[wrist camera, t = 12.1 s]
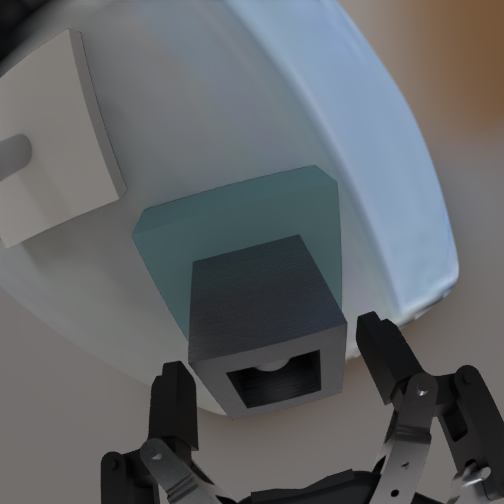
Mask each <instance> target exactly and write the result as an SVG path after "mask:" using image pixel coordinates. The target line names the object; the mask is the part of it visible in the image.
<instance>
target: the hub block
mask: <svg viewBox="0 0 504 504" xmlns="http://www.w3.org/2000/svg"><path fill="white" fill-rule="evenodd" d="M298 234H299V235H300V236H301V238H302V240H303V242H304V243H305V245H306V247H307V249H308V250H309V252H310V254H311V256H312V258H313V259H314V261H315V263H316V265H317V267H318V268H319V270H320V272H321V274H322V276H323V278H324V279H325V281H326V283H327V285H328V287H329V289H330V290H331V292H332V294H333V296H334V298H335V300H336V302H337V304H338V306H339V307H340V309H341V311H342V256H341V230H340V213H339V199H338V187H337V181H335V180H334V179H333V178H331V177H330V176H329V175H328V174H326V173H325V172H324V171H322V170H321V169H320V168H319V167H317V166H316V165H314V166H309V167H305V168H300V169H295V170H290V171H286V172H281V173H277V174H273V175H268V176H264V177H260V178H256V179H252V180H247V181H243V182H240V183H236V184H232V185H228V186H224V187H220V188H217V189H213V190H209V191H206V192H202V193H199V194H195V195H192V196H188V197H185V198H182V199H178V200H175V201H172V202H168V203H165V204H162V205H159V206H156V207H153V208H150V209H146V210H144V211H143V213H142V215H141V217H140V219H139V221H138V223H137V225H136V227H135V229H134V232H133V234H132V238H133V240H134V242H135V244H136V246H137V248H138V250H139V253H140V255H141V257H142V259H143V261H144V263H145V265H146V267H147V269H148V271H149V273H150V274H151V276H152V278H153V280H154V282H155V284H156V286H157V288H158V290H159V292H160V293H161V295H162V297H163V299H164V301H165V302H166V304H167V306H168V308H169V310H170V311H171V313H172V315H173V317H174V318H175V320H176V322H177V324H178V325H179V327H180V329H181V330H182V332H183V334H184V335H185V337H186V339H187V340H188V342H189V318H190V298H191V281H192V266H193V262H194V261H197V260H201V259H205V258H209V257H213V256H217V255H220V254H224V253H228V252H232V251H236V250H240V249H244V248H247V247H251V246H255V245H259V244H263V243H267V242H271V241H275V240H278V239H282V238H286V237H290V236H294V235H298ZM289 360H290V358H287V359H283V360H279V361H276V362H271V363H267V364H263V365H259V366H255V368H257V369H259V370H262V371H275V370H278V369H280V368H282V367H283V366H284V365H286V364H287V362H288V361H289Z"/></svg>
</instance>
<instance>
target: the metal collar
mask: <svg viewBox="0 0 504 504" xmlns="http://www.w3.org/2000/svg"><path fill="white" fill-rule="evenodd" d="M346 340H347V321H346V319H345V317H344V315H343V313H342V311H341V309H340V307H339V306H338V304H337V302H336V300H335V298H334V296H333V294H332V292H331V290H330V289H329V287H328V285H327V283H326V281H325V279H324V278H323V276H322V274H321V272H320V270H319V268H318V267H317V265H316V263H315V261H314V259H313V258H312V256H311V254H310V252H309V250H308V249H307V247H306V245H305V243H304V242H303V240H302V238H301V236H300V235H299V234H298V235H294V236H290V237H286V238H282V239H278V240H275V241H271V242H267V243H263V244H259V245H255V246H251V247H247V248H244V249H240V250H236V251H232V252H228V253H224V254H220V255H217V256H213V257H209V258H205V259H201V260H197V261H194V262H193V266H192V281H191V298H190V318H189V348H188V363H189V365H190V366H191V367H192V369H193V370H194V372H195V373H196V374H197V376H198V377H199V379H200V380H201V381H202V383H203V384H204V385H205V387H206V388H207V389H208V391H209V392H210V393H211V394H212V396H213V397H214V398H215V400H216V401H217V402H218V403H219V405H220V406H221V407H222V408H223V410H224V411H225V412H226V413H227V415H228V416H229V417H230V418H231V419H232V420H233V419H239V418H245V417H250V416H255V415H260V414H265V413H270V412H274V411H278V410H282V409H286V408H291V407H295V406H298V405H302V404H305V403H309V402H313V401H316V400H319V399H323V398H326V397H329V396H332V395H335V394H338V393H341V392H342V383H343V374H344V364H345V353H346ZM287 358H290V360H289V361H288V362H287V364H286V365H284V366H283V367H282V368H280V369H278V370H275V371H262V370H259V369H257V368H255V366H259V365H263V364H267V363H271V362H276V361H279V360H283V359H287Z"/></svg>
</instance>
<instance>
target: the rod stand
mask: <svg viewBox="0 0 504 504" xmlns="http://www.w3.org/2000/svg"><path fill="white" fill-rule="evenodd" d="M126 190H127V188H126V185H125V183H124V180H123V178H122V175H121V172H120V170H119V167H118V164H117V161H116V159H115V156H114V153H113V150H112V147H111V144H110V141H109V138H108V135H107V132H106V129H105V126H104V123H103V120H102V116H101V113H100V110H99V106H98V103H97V100H96V96H95V92H94V89H93V85H92V81H91V77H90V73H89V69H88V65H87V61H86V57H85V52H84V47H83V43H82V38H81V32H78V31H75V30H72V29H70V28H68V29H66V30H64V31H63V32H61V33H60V34H58V35H56V36H55V37H53V38H52V39H50V40H49V41H47V42H46V43H44V44H43V45H41V46H40V47H39V48H37V49H36V50H34V51H33V52H32V53H30V54H29V55H28V56H26V57H25V58H24V59H22V60H21V61H20V62H19V63H17V64H16V65H15V66H14V67H13V68H11V69H10V70H9V71H8V72H7V73H5V74H4V75H3V76H2V77H1V78H0V238H1V240H2V242H3V243H4V245H5V247H6V249H9V248H11V247H13V246H15V245H16V244H18V243H20V242H22V241H24V240H26V239H28V238H30V237H32V236H34V235H37V234H39V233H41V232H43V231H45V230H47V229H49V228H51V227H54V226H56V225H58V224H60V223H63V222H65V221H67V220H69V219H72V218H74V217H76V216H79V215H81V214H84V213H86V212H89V211H91V210H93V209H96V208H98V207H101V206H104V205H106V204H109V203H111V202H114V201H117V200H119V199H120V198H121V197H122V195H123V194H124V193H125V192H126Z"/></svg>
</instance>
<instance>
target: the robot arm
mask: <svg viewBox="0 0 504 504" xmlns="http://www.w3.org/2000/svg"><path fill="white" fill-rule="evenodd" d="M356 342H357V346H358V348H359V350H360V352H361V355H362V356H363V359H364V361H365V363H366V365H367V367H368V369H369V371H370V374H371V375H372V378H373V380H374V382H375V384H376V387H377V388H378V391H379V393H380V395H381V398H382V400H383V402H384V404H385V405H387V404H389V403H392V404H393V406H394V411H393V414H392V417H391V421H390V424H389V427H388V430H387V433H386V436H385V439H384V442H383V444H382V447H381V449H380V451H379V453H378V455H377V457H376V460H375V462H374V465H373V467H372V470H371V472H369V471H352V469H349V470H346V471H343V472H340V473H337V474H334V475H331V476H327V477H326V478H324V479H322V480H320V481H318V482H316V483H314V484H312V485H310V486H308V487H306V488H303V489H271V490H264V491H258V492H251V496H248V497H247V498H244V499H242V500H241V501H238V500H237V499H235V498H234V497H233V496H232V495H231V494H230V493H228V492H227V491H226V490H225V489H223V488H222V487H220V486H219V485H218V484H216V483H215V482H214V481H213V480H212V479H211V478H210V477H209V476H208V475H207V474H206V473H205V472H204V471H203V470H202V469H201V468H200V467H199V466H198V465H197V464H196V463H195V461H194V460H192V458H191V451H198V450H199V447H198V430H197V402H196V384H195V381H194V378H193V377H192V375H191V374H190V373H189V371H188V370H187V369H186V367H185V366H184V365H183V363H182V362H181V361H175V362H169V363H164V365H163V371H162V375H160V376H156V378H155V380H154V382H153V384H152V389H151V403H150V405H151V406H150V415H149V434H148V439H147V441H145V442H144V443H143V445H142V446H141V448H140V449H138V450H135V451H132V452H129V453H126V454H122V455H121V454H120V453H118V452H108V453H107V454H105V455H104V456H103V458H102V461H101V504H160V499H159V489H158V484H160V485H161V487H162V488H163V489H164V490H165V492H166V493H167V495H168V497H167V500H168V502H169V503H170V504H443V503H441V502H438V501H436V500H434V499H431V498H429V497H426V496H424V495H422V494H419V493H417V492H415V491H416V488H417V486H418V483H419V480H420V477H421V474H422V471H423V468H424V465H425V462H426V458H427V455H428V452H429V448H430V444H431V439H432V437H431V434H430V428H431V424H432V419H433V417H436V416H437V417H438V419H439V422H440V424H441V427H442V429H443V432H444V434H445V437H446V440H447V442H448V445H449V448H450V451H451V453H452V456H453V459H454V462H455V465H456V468H457V471H458V472H457V473H456V474H455V476H454V478H453V480H452V483H451V489H452V492H451V496H450V499H449V500H448V502H447V503H446V504H488V503H490V502H491V501H494V500H497V499H501V498H504V422H503V420H502V417H501V415H500V413H499V411H498V409H497V406H496V404H495V402H494V400H493V398H492V396H491V394H490V392H489V390H488V388H487V386H486V384H485V382H484V380H483V379H482V377H481V375H480V373H479V371H478V370H477V369H476V368H475V367H473V366H471V365H465V366H462V367H460V368H459V369H458V370H457V372H456V373H453V374H448V375H442V376H433V375H431V374H428V373H427V372H425V371H424V370H423V369H422V367H421V365H420V364H419V362H418V360H417V359H416V357H415V355H414V353H413V352H412V350H411V348H410V347H409V345H408V344H407V343H406V340H405V339H404V337H403V336H402V334H401V332H400V331H399V329H398V327H397V326H396V325H395V324H394V323H393V322H391V321H390V320H388V319H384V320H382V321H381V320H380V318H379V317H378V315H377V314H376V312H374V311H372V312H369V313H366V314H363V315H360V316H358V319H357V329H356ZM404 469H405V470H404Z"/></svg>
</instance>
